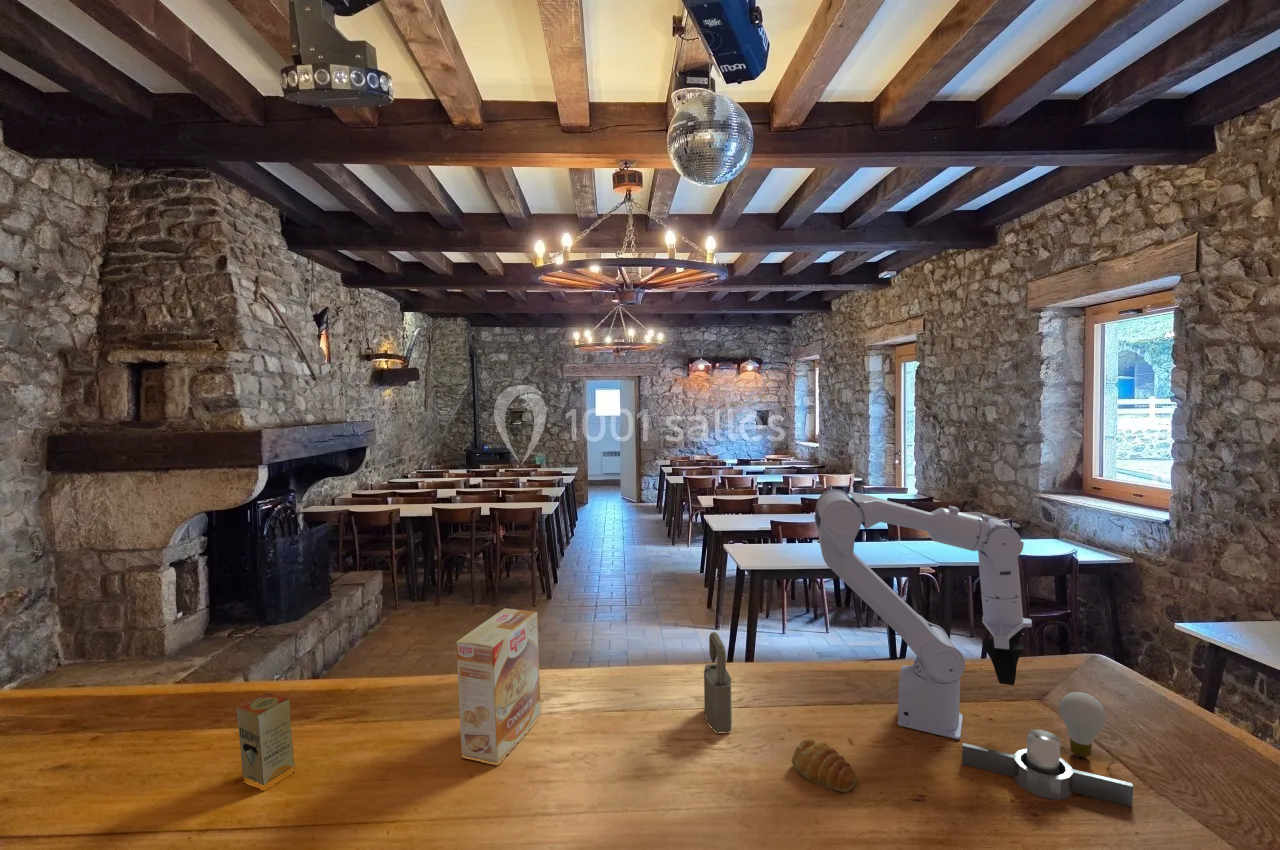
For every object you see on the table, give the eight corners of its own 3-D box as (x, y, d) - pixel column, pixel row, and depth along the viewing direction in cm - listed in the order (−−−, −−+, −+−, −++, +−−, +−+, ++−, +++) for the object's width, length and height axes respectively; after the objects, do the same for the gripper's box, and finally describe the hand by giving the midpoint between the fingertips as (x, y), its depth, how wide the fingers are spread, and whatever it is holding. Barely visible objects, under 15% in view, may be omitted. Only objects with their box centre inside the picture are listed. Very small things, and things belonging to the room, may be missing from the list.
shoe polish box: (274, 764, 102) (268, 692, 101) (294, 772, 100) (288, 698, 99) (243, 783, 98) (236, 707, 97) (264, 791, 96) (257, 714, 94)
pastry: (866, 782, 95) (867, 758, 94) (838, 803, 91) (838, 777, 90) (814, 753, 102) (814, 730, 102) (786, 770, 98) (786, 746, 98)
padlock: (723, 707, 116) (722, 626, 114) (735, 732, 108) (734, 646, 106) (701, 709, 115) (700, 628, 114) (712, 734, 107) (710, 648, 106)
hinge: (960, 775, 95) (961, 756, 95) (963, 750, 101) (963, 732, 101) (1136, 821, 85) (1137, 800, 85) (1127, 790, 91) (1128, 770, 91)
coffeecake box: (498, 767, 100) (493, 646, 98) (459, 759, 102) (453, 641, 101) (543, 717, 114) (539, 610, 112) (508, 711, 116) (503, 606, 115)
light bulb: (1111, 770, 96) (1114, 705, 95) (1067, 766, 97) (1070, 702, 96) (1092, 746, 101) (1095, 686, 101) (1051, 743, 103) (1053, 683, 102)
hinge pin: (1027, 787, 92) (1029, 741, 92) (1024, 771, 96) (1026, 726, 95) (1060, 795, 91) (1062, 748, 90) (1055, 778, 94) (1058, 733, 93)
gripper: (1028, 611, 97) (1035, 697, 98) (1030, 579, 109) (1036, 656, 110) (976, 607, 101) (983, 690, 102) (983, 577, 113) (990, 651, 114)
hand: (1007, 672), depth 107 cm, fingers open, 7 cm apart
